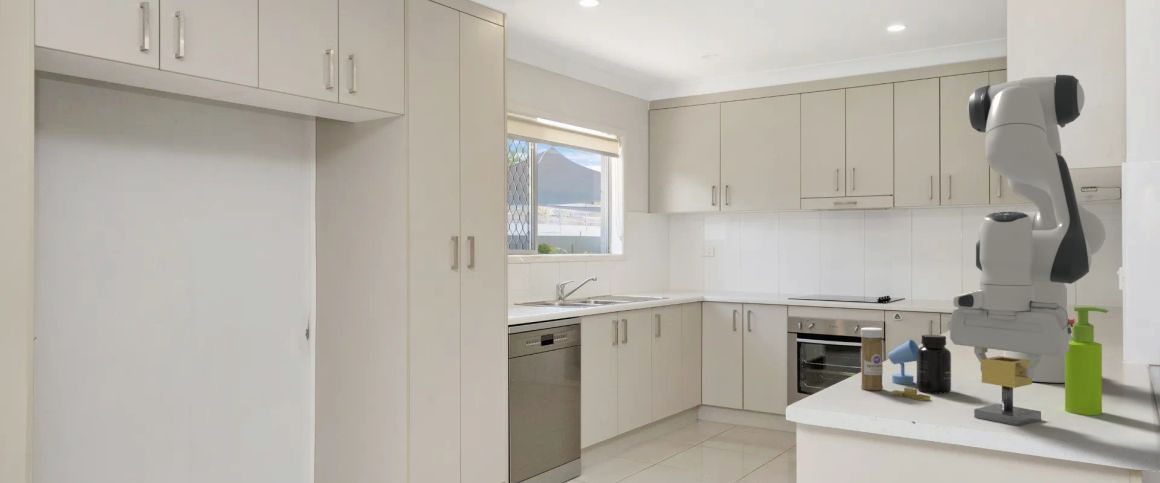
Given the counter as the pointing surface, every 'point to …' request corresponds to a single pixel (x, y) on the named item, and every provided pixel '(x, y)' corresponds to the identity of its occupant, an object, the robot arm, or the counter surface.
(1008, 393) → the grey peg stand
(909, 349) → the spotlight
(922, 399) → the tan barbell toy
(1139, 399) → the counter surface
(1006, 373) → the end link
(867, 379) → the sprinkles bottle
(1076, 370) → the soap dispenser
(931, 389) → the supplement bottle
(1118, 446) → the counter surface
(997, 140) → the robot arm
